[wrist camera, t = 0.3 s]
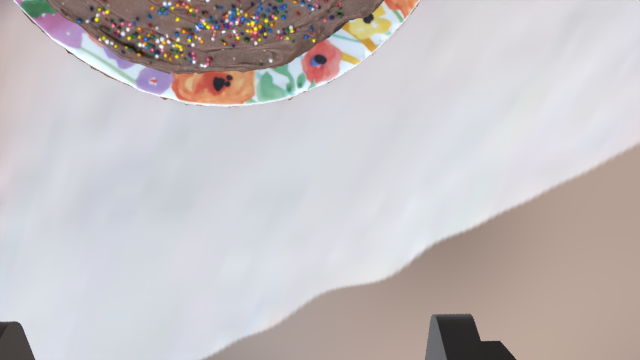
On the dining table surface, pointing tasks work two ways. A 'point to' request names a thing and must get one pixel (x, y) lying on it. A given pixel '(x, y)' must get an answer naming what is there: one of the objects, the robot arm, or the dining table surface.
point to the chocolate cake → (220, 43)
